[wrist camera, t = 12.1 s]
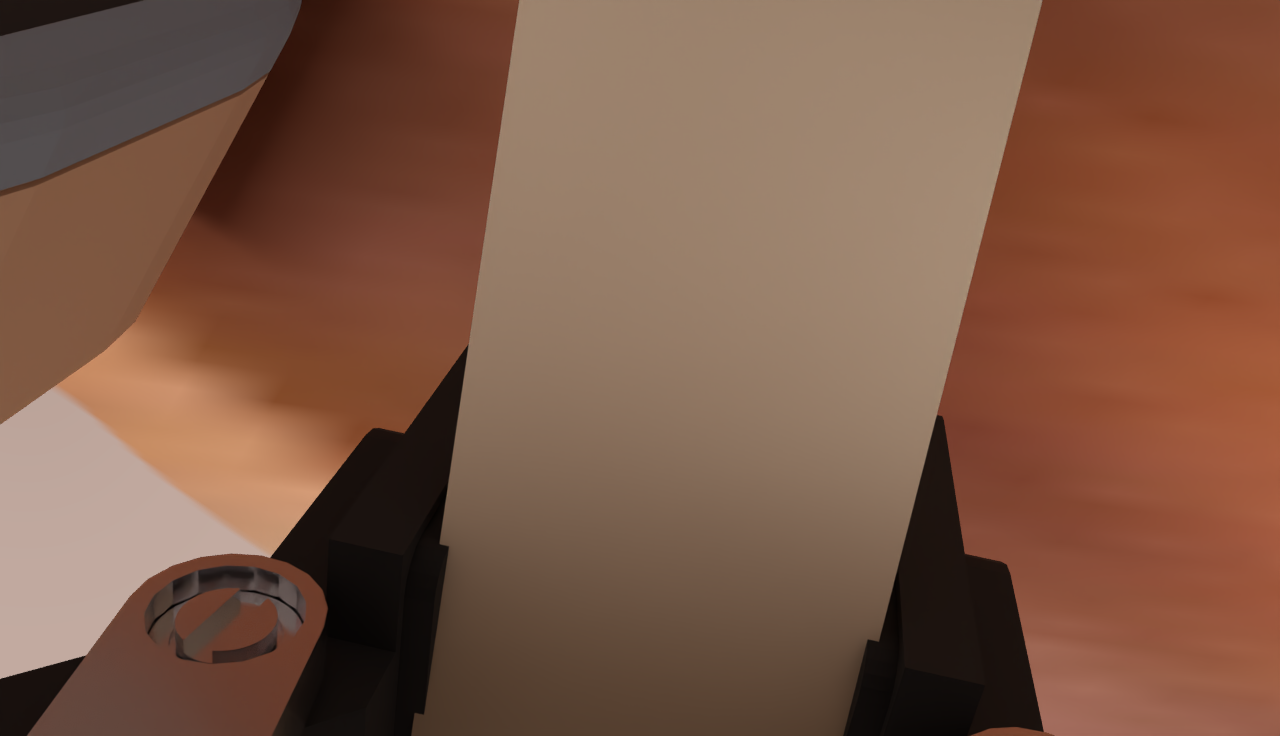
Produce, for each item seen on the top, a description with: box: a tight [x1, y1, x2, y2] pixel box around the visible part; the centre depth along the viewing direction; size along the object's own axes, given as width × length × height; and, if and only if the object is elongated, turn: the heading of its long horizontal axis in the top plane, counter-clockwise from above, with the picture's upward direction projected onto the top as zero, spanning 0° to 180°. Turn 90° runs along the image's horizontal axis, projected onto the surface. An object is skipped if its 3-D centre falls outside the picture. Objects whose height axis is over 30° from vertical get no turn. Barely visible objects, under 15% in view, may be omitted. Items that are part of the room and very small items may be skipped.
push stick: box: [411, 0, 1043, 736], centre depth 11 cm, size 12×3×5 cm, turn 171°
